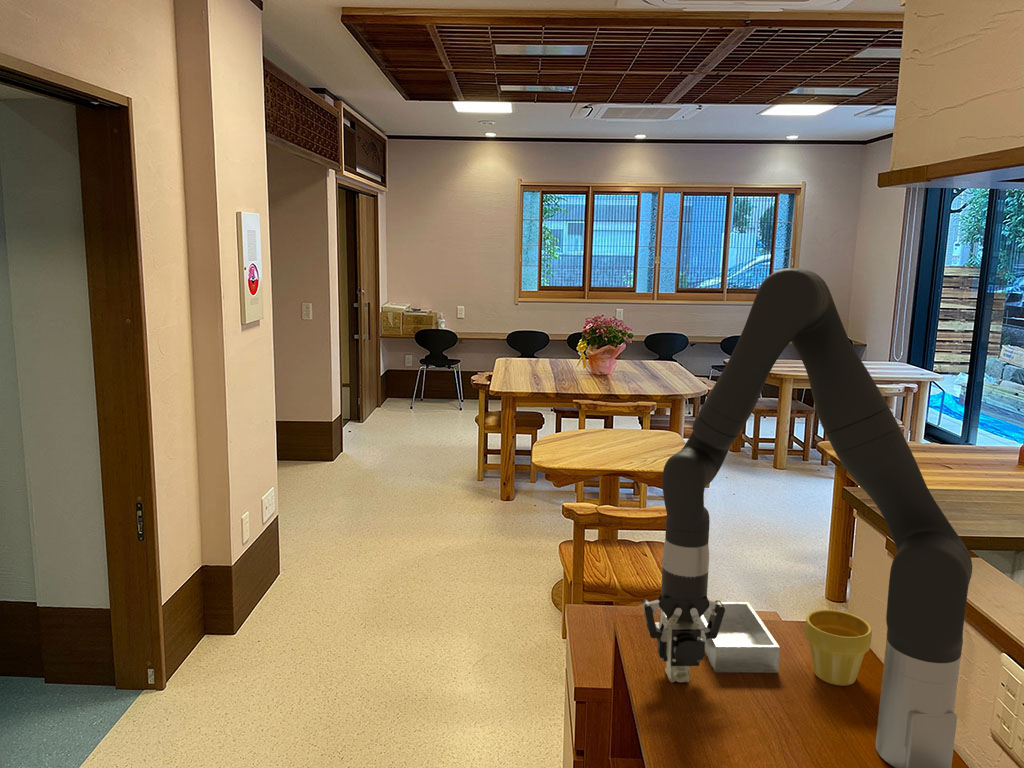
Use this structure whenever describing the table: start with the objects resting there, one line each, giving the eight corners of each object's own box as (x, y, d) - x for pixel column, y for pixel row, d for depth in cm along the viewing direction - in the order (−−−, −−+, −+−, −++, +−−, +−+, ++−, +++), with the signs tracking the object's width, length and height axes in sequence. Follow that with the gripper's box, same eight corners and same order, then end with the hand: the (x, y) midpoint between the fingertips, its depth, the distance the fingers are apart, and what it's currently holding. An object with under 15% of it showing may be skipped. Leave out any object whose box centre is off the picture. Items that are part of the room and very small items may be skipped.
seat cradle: (777, 672, 127) (779, 647, 127) (714, 672, 127) (716, 646, 127) (747, 625, 144) (748, 602, 143) (691, 624, 144) (692, 601, 143)
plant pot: (801, 654, 133) (805, 604, 132) (863, 665, 130) (868, 614, 128) (802, 685, 124) (807, 631, 122) (870, 698, 120) (875, 642, 119)
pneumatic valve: (672, 697, 120) (675, 629, 118) (655, 659, 132) (658, 596, 130) (705, 697, 120) (709, 629, 118) (686, 658, 132) (689, 596, 130)
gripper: (646, 574, 119) (642, 671, 122) (735, 575, 119) (728, 671, 122) (638, 556, 126) (634, 647, 129) (721, 556, 126) (716, 648, 129)
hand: (680, 658), depth 125 cm, fingers closed on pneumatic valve, 5 cm apart
